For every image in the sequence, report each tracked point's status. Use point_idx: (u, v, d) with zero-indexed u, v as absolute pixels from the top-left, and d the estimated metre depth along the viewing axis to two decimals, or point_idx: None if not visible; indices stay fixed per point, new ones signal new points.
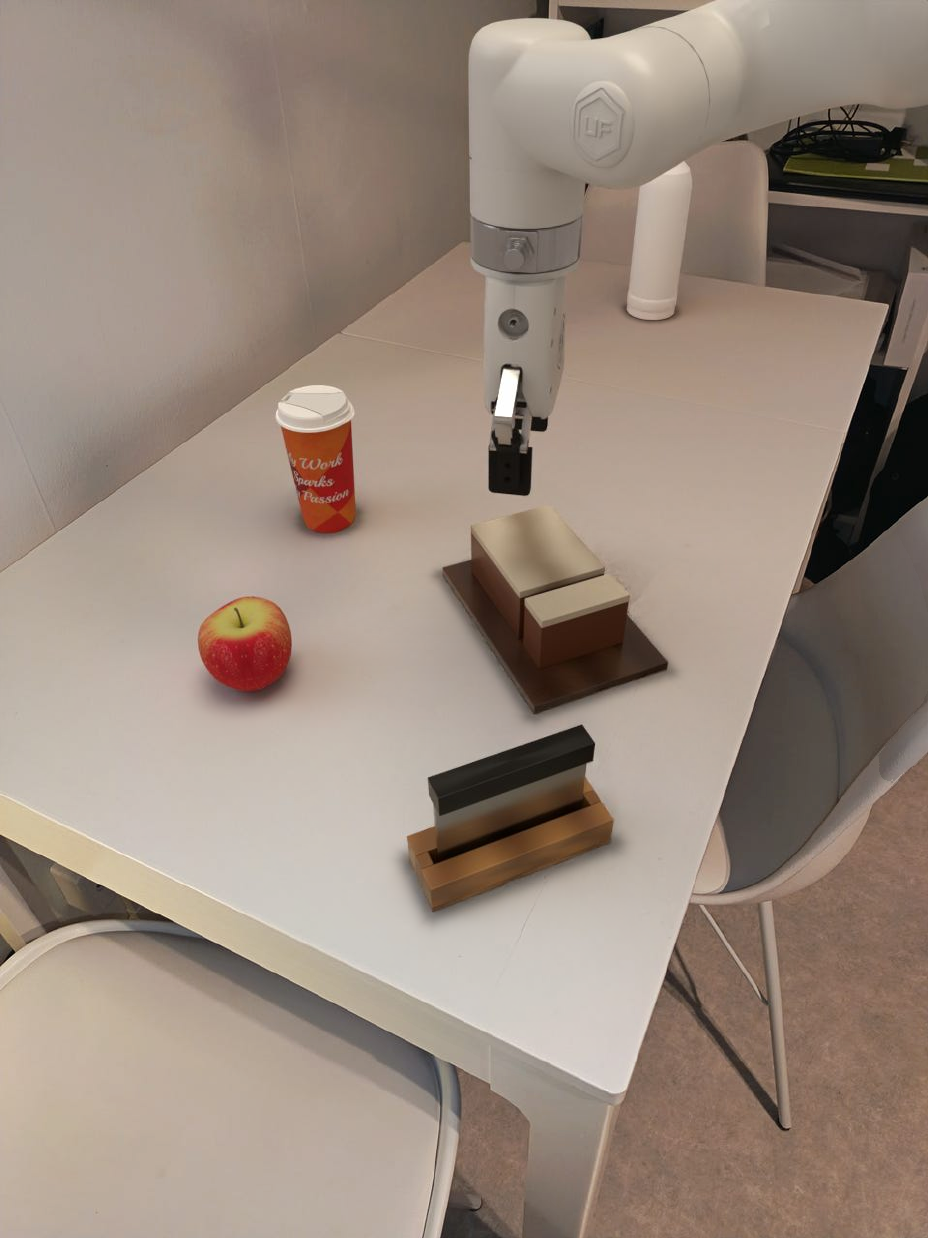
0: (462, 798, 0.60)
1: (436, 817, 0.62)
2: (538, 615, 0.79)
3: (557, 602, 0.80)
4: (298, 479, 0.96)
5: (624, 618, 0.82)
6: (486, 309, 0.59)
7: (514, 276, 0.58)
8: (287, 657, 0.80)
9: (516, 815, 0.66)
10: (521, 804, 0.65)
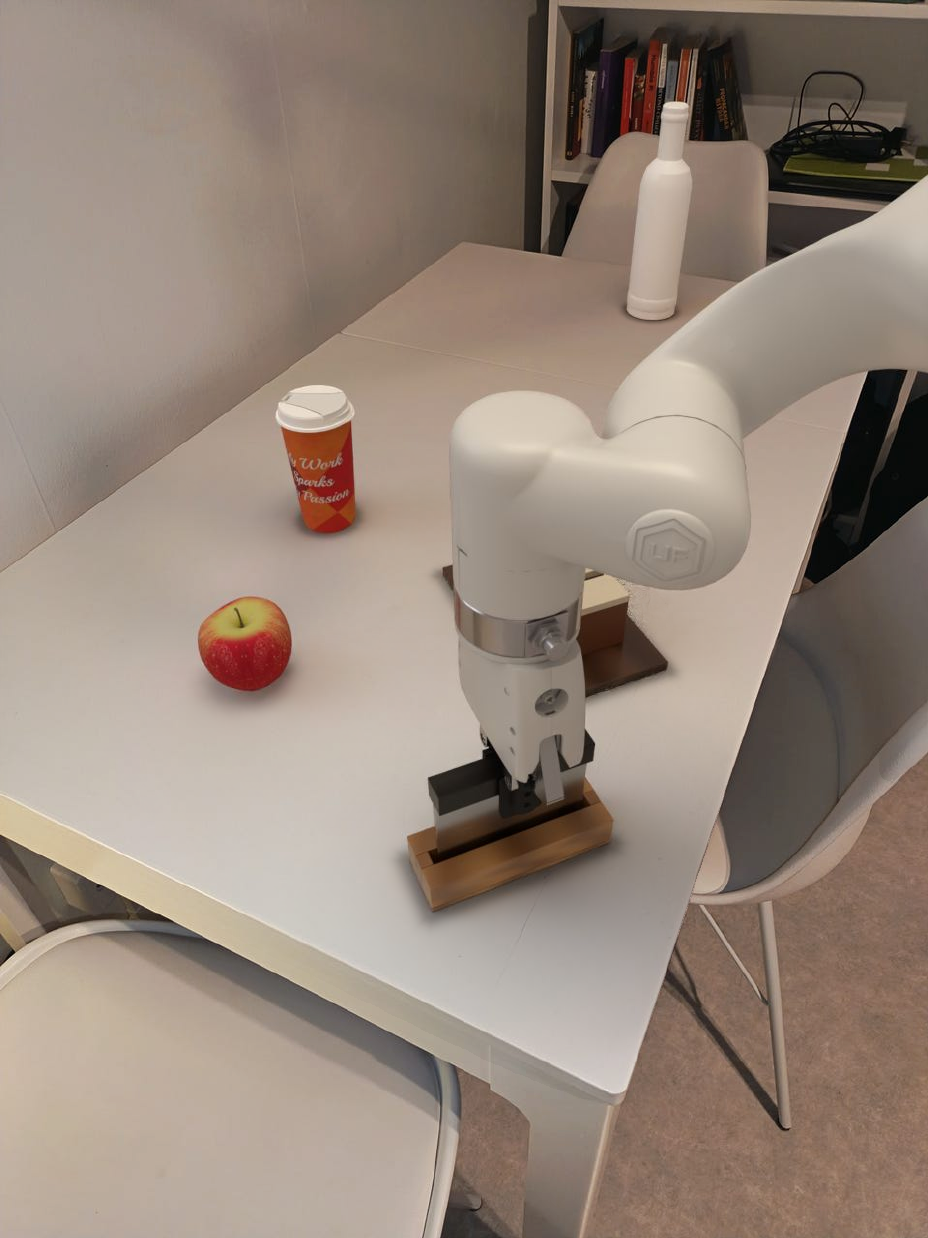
0: (462, 798, 0.60)
1: (436, 817, 0.62)
2: None
3: None
4: (298, 479, 0.96)
5: (624, 618, 0.82)
6: (517, 697, 0.51)
7: (543, 656, 0.50)
8: (287, 657, 0.80)
9: (516, 815, 0.66)
10: None
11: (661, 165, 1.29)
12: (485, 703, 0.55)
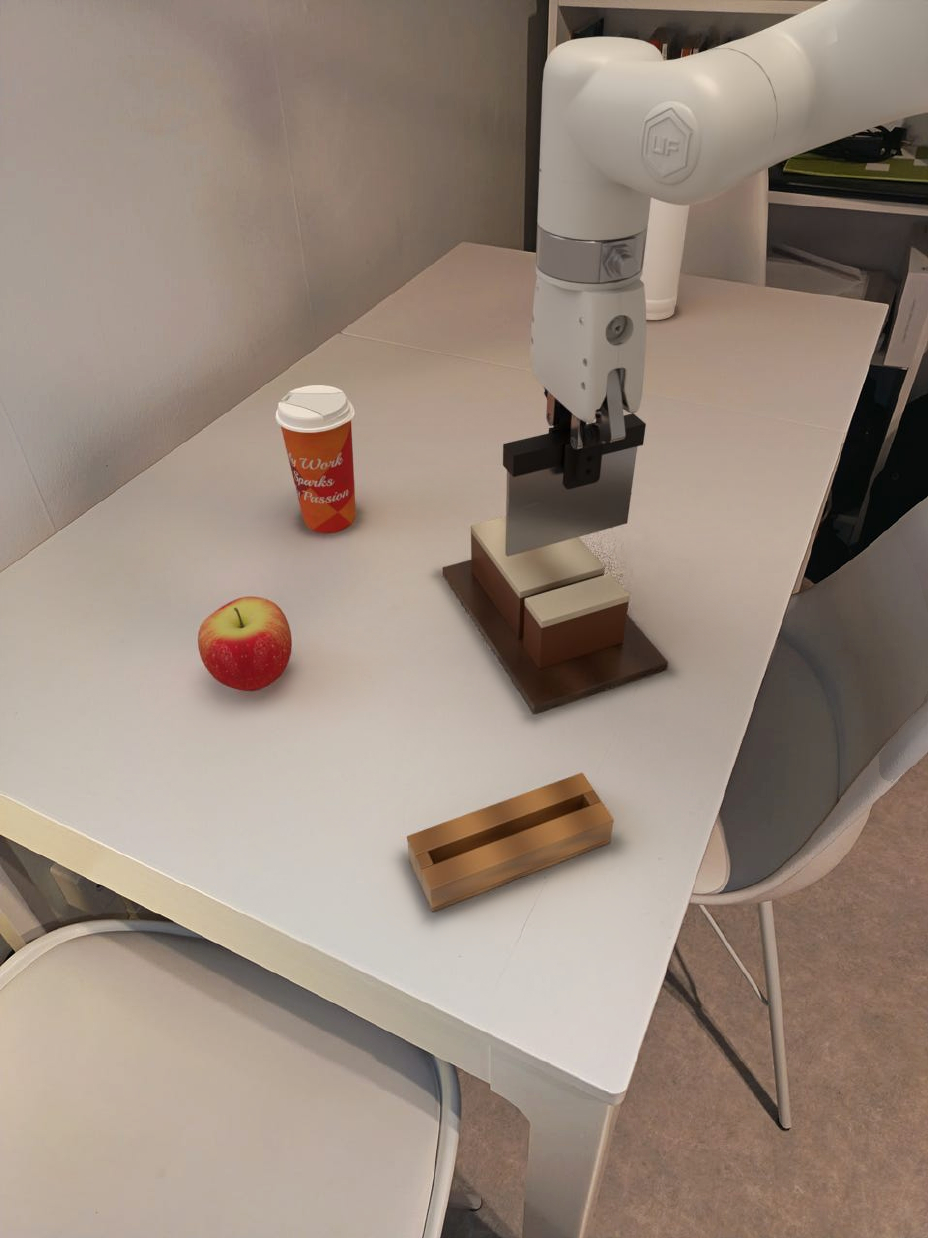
0: (533, 461, 0.70)
1: (508, 484, 0.71)
2: (538, 615, 0.79)
3: (557, 602, 0.80)
4: (298, 479, 0.96)
5: (624, 618, 0.82)
6: (591, 322, 0.60)
7: (613, 284, 0.60)
8: (287, 657, 0.80)
9: (575, 499, 0.75)
10: (580, 487, 0.75)
11: None
12: (558, 353, 0.65)
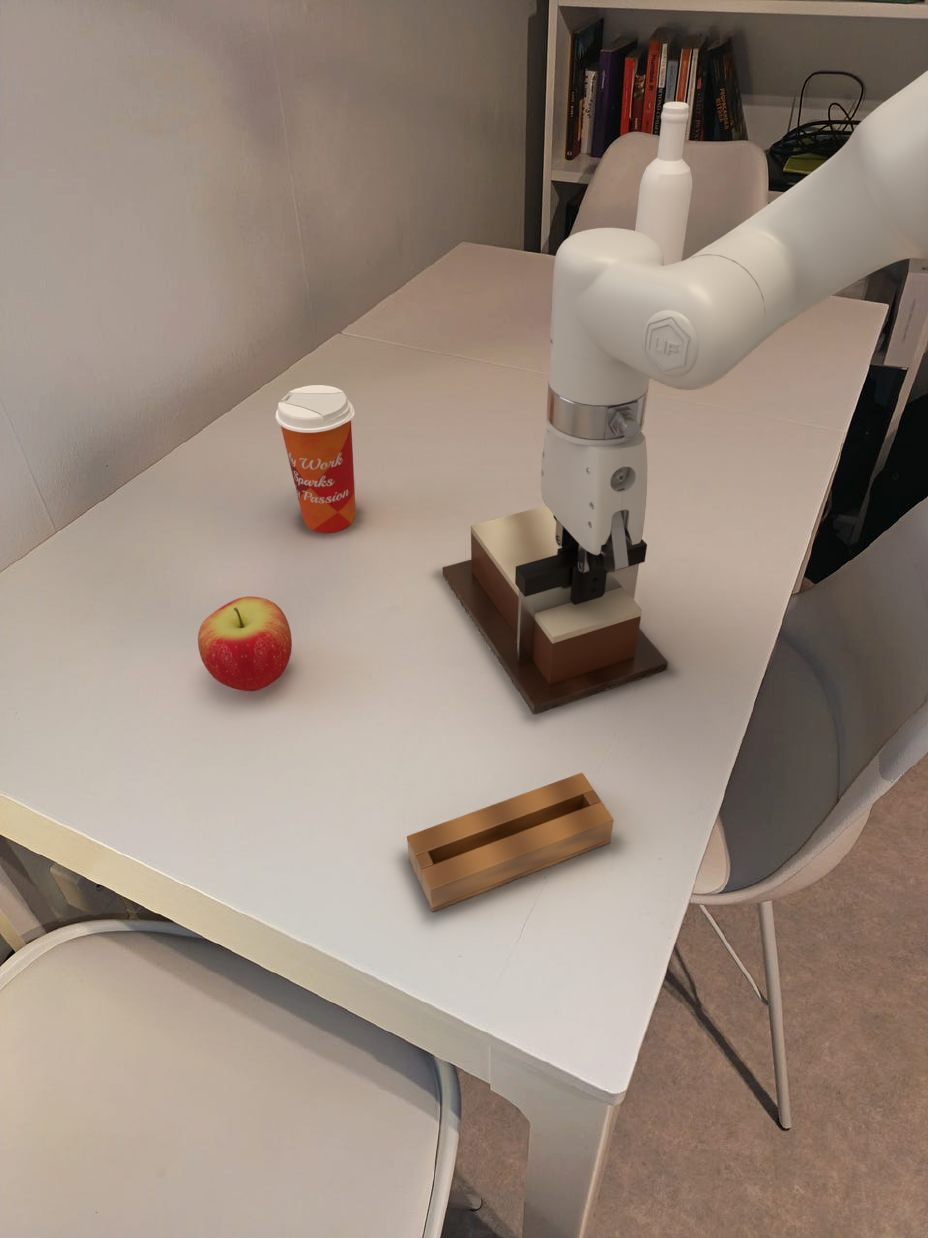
0: (543, 582, 0.76)
1: (520, 601, 0.77)
2: (549, 631, 0.77)
3: (568, 617, 0.79)
4: (298, 479, 0.96)
5: (636, 633, 0.81)
6: (597, 473, 0.66)
7: (617, 440, 0.66)
8: (287, 657, 0.80)
9: None
10: None
11: (661, 165, 1.29)
12: (567, 492, 0.71)
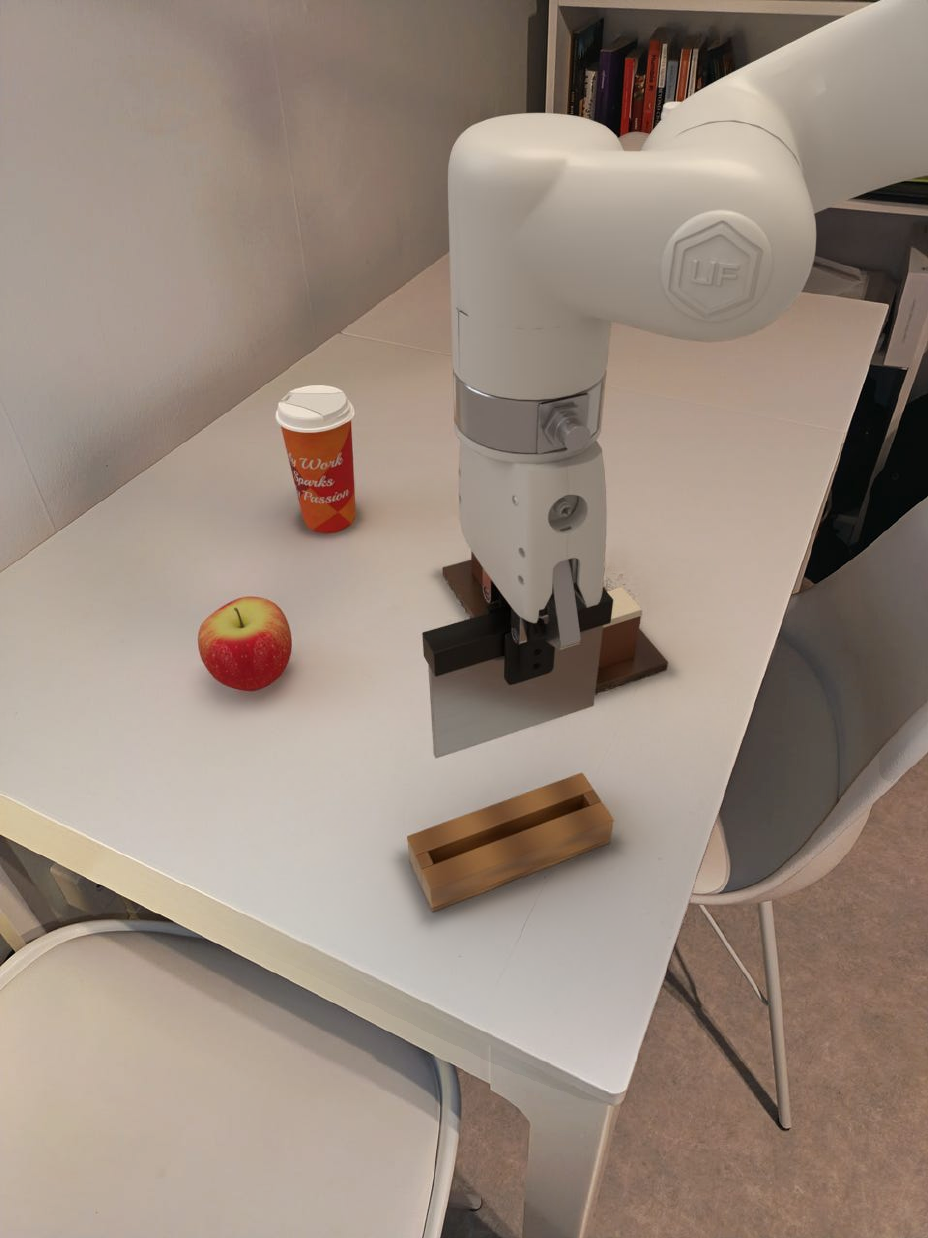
0: (462, 656, 0.53)
1: (431, 681, 0.54)
2: None
3: None
4: (298, 479, 0.96)
5: (636, 633, 0.81)
6: (528, 505, 0.43)
7: (558, 454, 0.42)
8: (287, 657, 0.80)
9: (523, 688, 0.58)
10: None
11: None
12: (489, 530, 0.48)
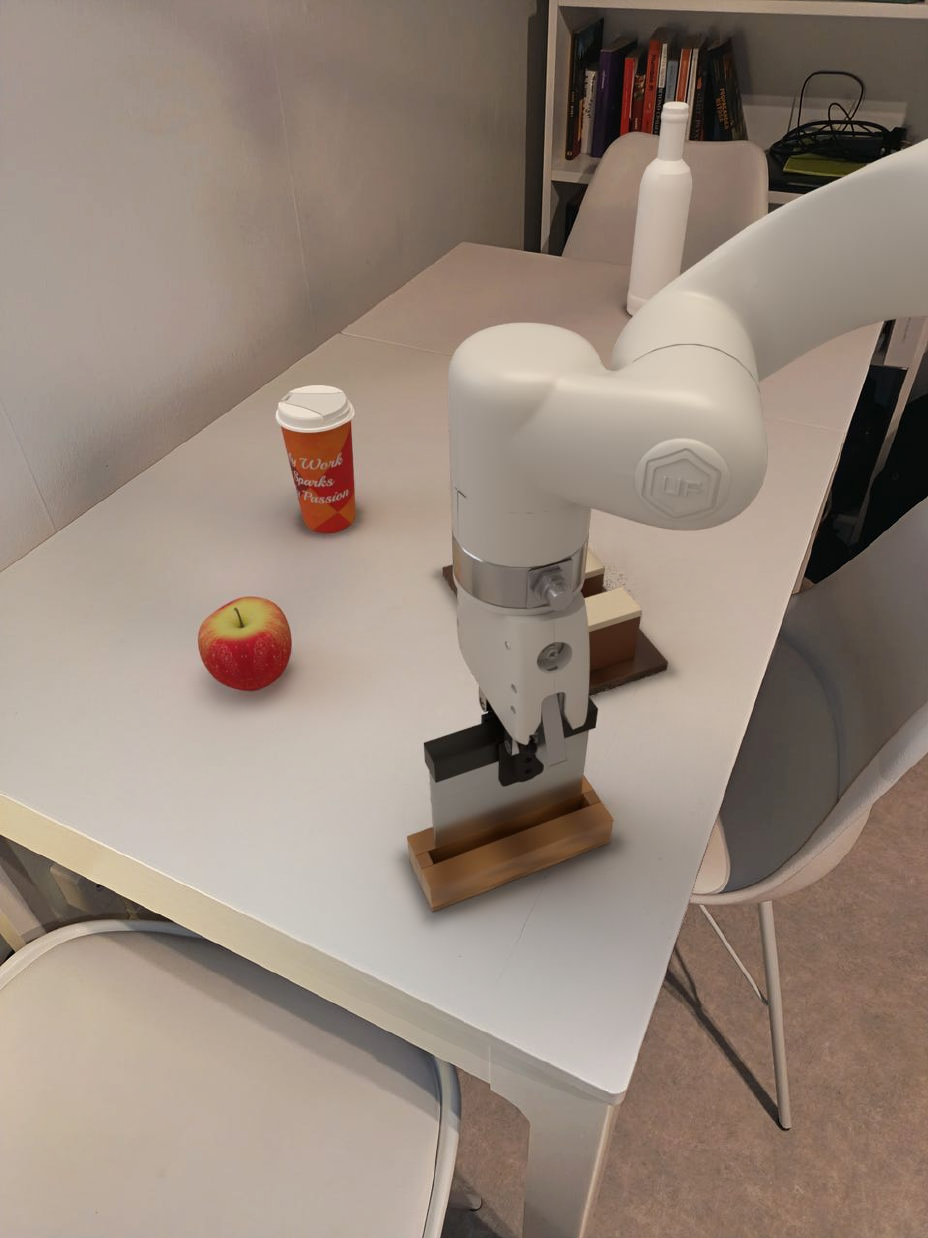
0: (460, 764, 0.58)
1: (432, 785, 0.59)
2: None
3: None
4: (298, 479, 0.96)
5: (636, 633, 0.81)
6: (519, 651, 0.48)
7: (546, 608, 0.48)
8: (287, 657, 0.80)
9: (516, 785, 0.63)
10: None
11: (661, 165, 1.29)
12: (485, 661, 0.53)
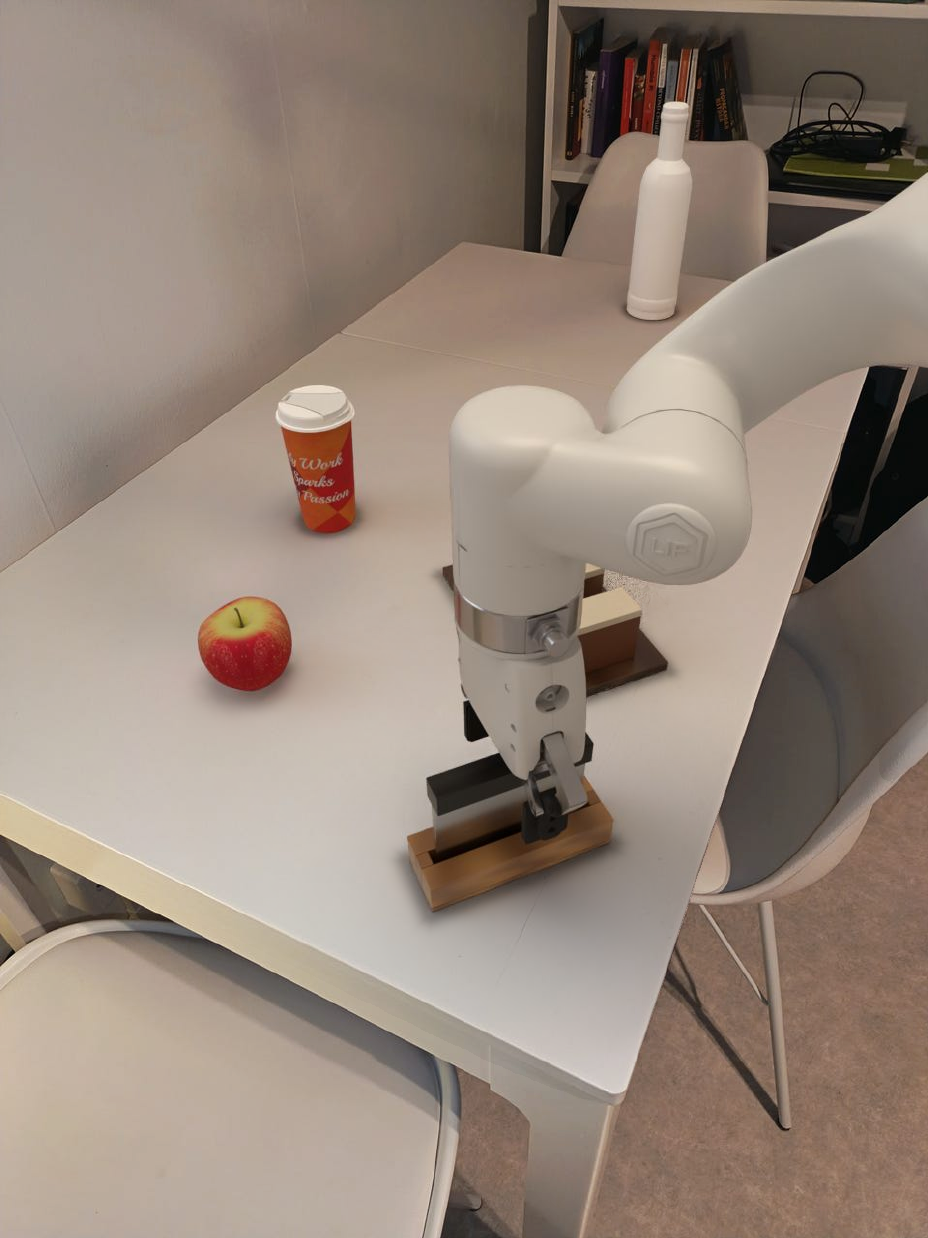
0: (461, 799, 0.60)
1: (434, 817, 0.62)
2: None
3: None
4: (298, 479, 0.96)
5: (636, 633, 0.81)
6: (518, 694, 0.50)
7: (543, 653, 0.50)
8: (287, 657, 0.80)
9: (515, 815, 0.66)
10: (519, 804, 0.65)
11: (661, 165, 1.29)
12: (485, 700, 0.55)
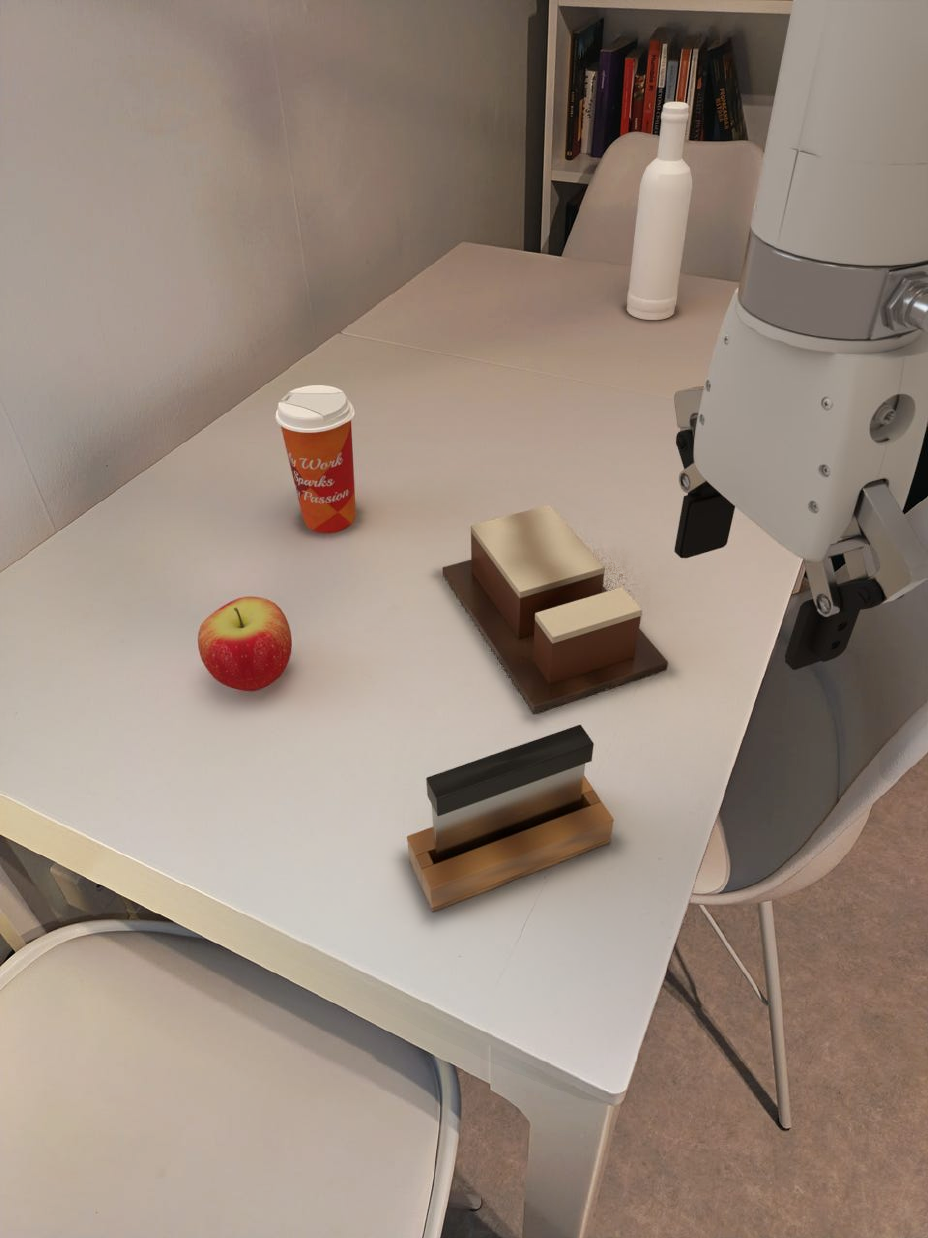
0: (461, 799, 0.60)
1: (434, 817, 0.62)
2: (549, 631, 0.77)
3: (568, 617, 0.79)
4: (298, 479, 0.96)
5: (636, 633, 0.81)
6: (848, 407, 0.35)
7: (891, 342, 0.34)
8: (287, 657, 0.80)
9: (515, 815, 0.66)
10: (519, 804, 0.65)
11: (661, 165, 1.29)
12: (764, 449, 0.39)
